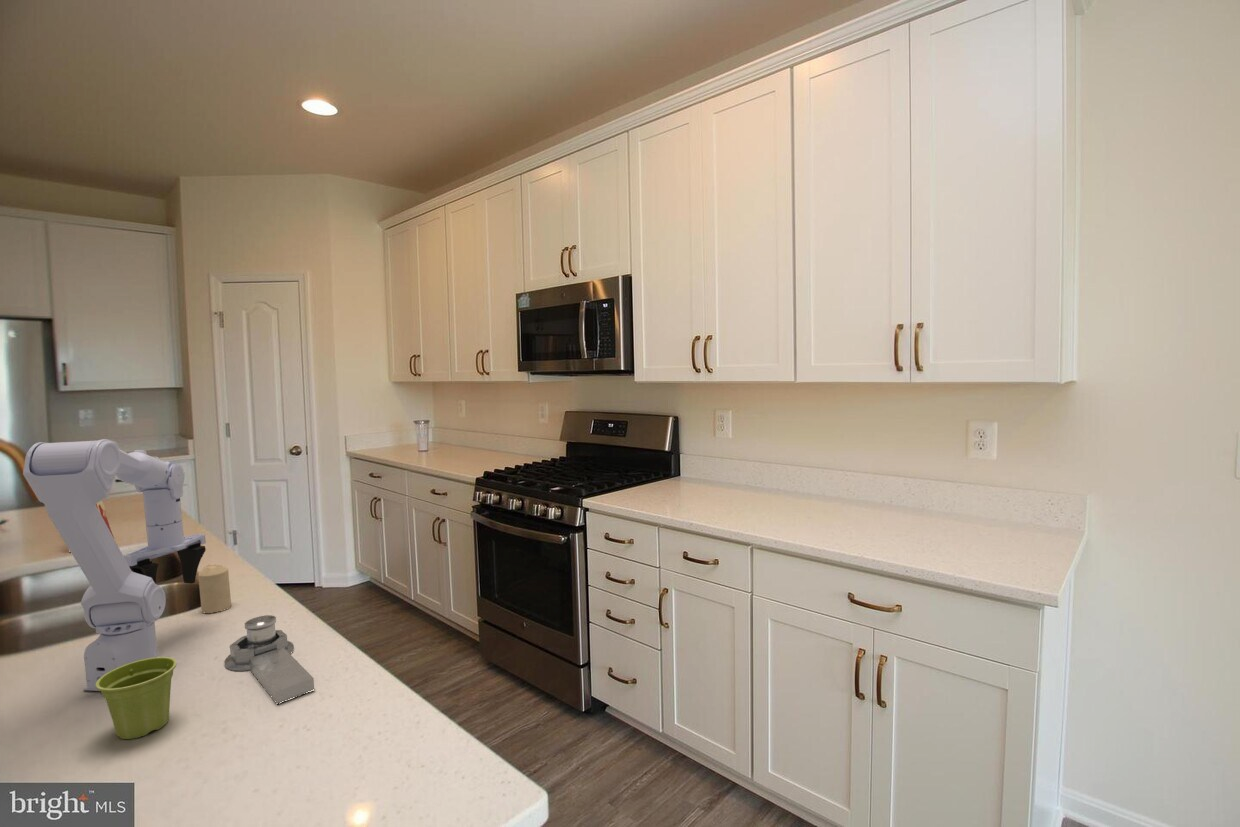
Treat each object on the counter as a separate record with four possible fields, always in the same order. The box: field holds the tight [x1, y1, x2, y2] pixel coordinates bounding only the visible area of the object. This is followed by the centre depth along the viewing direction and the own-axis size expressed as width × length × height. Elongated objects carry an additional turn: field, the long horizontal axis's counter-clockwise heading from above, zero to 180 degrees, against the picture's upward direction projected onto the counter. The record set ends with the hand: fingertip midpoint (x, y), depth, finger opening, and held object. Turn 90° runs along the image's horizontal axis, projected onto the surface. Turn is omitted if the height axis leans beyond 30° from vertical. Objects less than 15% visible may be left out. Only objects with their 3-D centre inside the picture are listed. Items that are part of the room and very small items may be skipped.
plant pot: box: [96, 656, 177, 740], centre depth 90 cm, size 9×9×9 cm
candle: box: [197, 564, 232, 614], centre depth 134 cm, size 6×6×10 cm
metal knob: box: [244, 614, 277, 649], centre depth 112 cm, size 5×5×6 cm
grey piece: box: [223, 629, 315, 704], centre depth 106 cm, size 26×11×3 cm, turn 45°
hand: (170, 589), depth 119 cm, fingers open, 7 cm apart
